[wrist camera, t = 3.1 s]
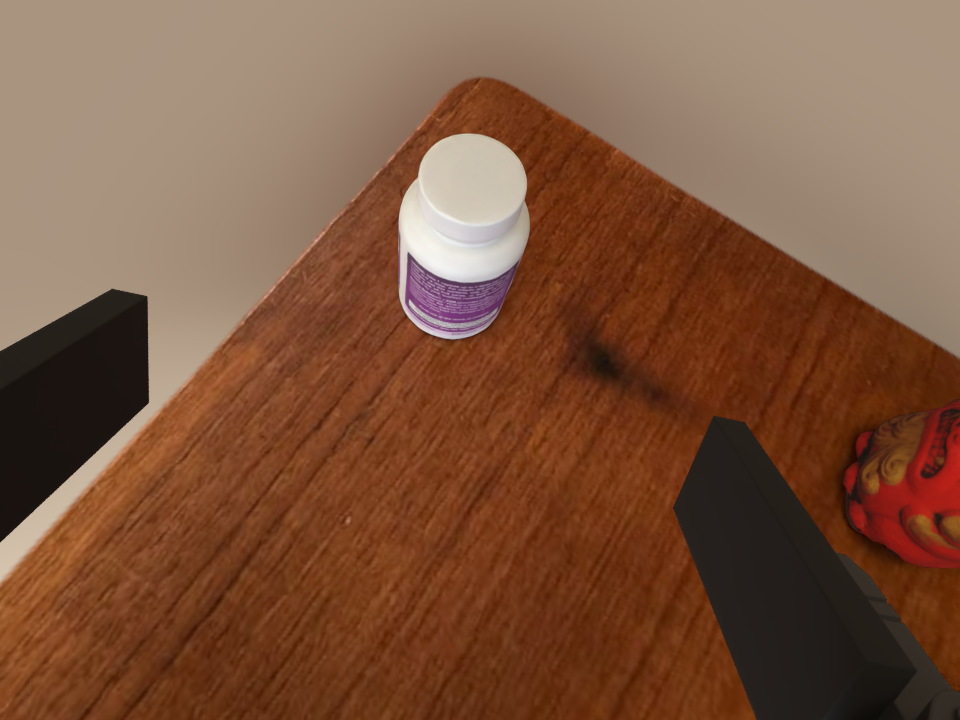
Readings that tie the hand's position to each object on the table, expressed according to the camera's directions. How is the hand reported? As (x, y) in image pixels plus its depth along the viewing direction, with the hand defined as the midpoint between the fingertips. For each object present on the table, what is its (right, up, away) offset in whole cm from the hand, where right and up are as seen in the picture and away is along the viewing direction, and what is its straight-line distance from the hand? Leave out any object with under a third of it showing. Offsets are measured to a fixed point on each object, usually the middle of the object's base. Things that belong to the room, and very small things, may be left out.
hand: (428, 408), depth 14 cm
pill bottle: (0, +5, +17) cm, 18 cm away
